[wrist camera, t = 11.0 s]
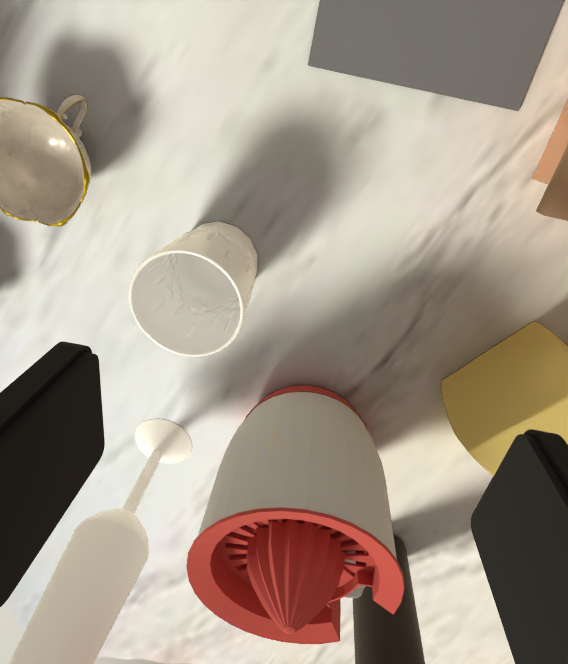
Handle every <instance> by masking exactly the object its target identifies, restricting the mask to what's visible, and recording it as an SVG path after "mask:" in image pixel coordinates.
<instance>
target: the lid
mask: <svg viewBox="0 0 568 664" xmlns="http://www.w3.org/2000/svg"><path fill="white" fill-rule="evenodd" d="M536 212H538V213H540V214H542V215H544V216H549V217H554V218H558V219H563V220H567V221H568V145H567V147H566V149H565V151H564V153H563V155H562V158H561V160H560V162H559V164H558V166H557V168H556V170H555V172H554V174H553V176H552V179H551V181H550V183H549V185H548V187H547V189H546V191H545V193H544V195H543V197H542V199H541V202H540V204H539V206H538V208H537V210H536Z"/></svg>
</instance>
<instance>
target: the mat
mask: <svg viewBox="0 0 568 664" xmlns="http://www.w3.org/2000/svg"><path fill="white" fill-rule="evenodd" d="M563 1H564V0H320V2H319V8H318V13H317V19H316V24H315V29H314V35H313V40H312V46H311V51H310V57H309V62H308V66H312V67H317V68H321V69H326V70H331V71H335V72H340V73H345V74H349V75H354V76H358V77H363V78H368V79H372V80H377V81H382V82H386V83H391V84H395V85H400V86H405V87H409V88H414V89H419V90H423V91H428V92H432V93H437V94H442V95H446V96H451V97H455V98H460V99H465V100H469V101H474V102H479V103H483V104H488V105H492V106H497V107H502V108H506V109H511V110H516V111H519V109H520V106H521V104H522V101H523V99H524V96H525V94H526V91H527V89H528V87H529V84H530V82H531V79H532V77H533V74H534V72H535V69H536V67H537V65H538V62H539V60H540V57H541V55H542V52H543V50H544V47H545V45H546V42H547V40H548V38H549V35H550V33H551V30H552V28H553V25H554V23H555V20H556V18H557V15H558V13H559V11H560V8H561V6H562V3H563Z"/></svg>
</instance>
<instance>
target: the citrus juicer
mask: <svg viewBox="0 0 568 664" xmlns="http://www.w3.org/2000/svg"><path fill="white" fill-rule="evenodd" d="M187 572H188V578H189V582H190V584H191V586H192V588H193V590H194V592H195V594H196V595H197V596H198V598H199V599H200V600H201V601H202V603H203V604H204V605H205V606H206V607H207V608H208V609H210V610H211V611H212V612H213V613H214V614H215V615H217V616H218V617H220V618H221V619H223V620H224V621H226V622H228V623H229V624H231V625H233V626H235V627H237V628H239V629H242V630H244V631H246V632H249V633H251V634H254V635H257V636H260V637H263V638H268V639H272V640H277V641H281V642H289V643H298V644H324V643H331V642H338V641H340V598H343V597H349V598H358V597H360V596H361V595H362V592H363V589H364V588H365V587H366V586H369V587H372V591H373V600H374V601H375V602H376V603H378V604H379V605H381V606H382V607H383V608H385V609H386V610H388V611H389V612H390V613H392V614H394V613H395V611H396V610H397V608H398V607H399V605H400V604H401V601H402V596H403V592H404V588H405V586H404V577H403V572H402V570H401V567H400V565H399V563H398V561H397V558H396V550H395V543H394V536H393V529H392V522H391V515H390V508H389V501H388V494H387V487H386V480H385V476H384V471H383V467H382V462H381V460H380V457H379V455H378V452H377V449H376V447H375V444H374V442H373V439H372V437H371V435H370V433H369V432H368V429H367V427H366V424H365V423H364V421H363V420H362V419H361V417H360V416H359V414H358V413H357V412H356V410H355V409H354V408H353V407H352V406H351V405H350V404H349V403H348V402H347V401H346V400H345V399H344V398H342V397H340V396H339V395H337V394H336V393H334V392H331V391H329V390H326V389H324V388H319V387H315V386H304V385H300V386H290V387H287V388H283V389H280V390H277V391H275V392H273V393H271V394H270V395H268V396H267V397H266V398H265V399H263V400H262V401H261V402H259V403H258V404H257V405H256V406H255V407H254V408H253V409H252V410H251V411H250V413H249V414H248V415H247V416H246V418H245V420H244V422H243V423H242V424H241V425H240V426H239V428H238V429H237V431H236V433H235V434H234V436H233V438H232V440H231V441H230V444H229V446H228V448H227V450H226V452H225V454H224V457H223V460H222V462H221V465H220V467H219V470H218V473H217V477H216V480H215V483H214V486H213V489H212V493H211V496H210V499H209V502H208V505H207V509H206V512H205V515H204V518H203V521H202V524H201V528H200V531H199V534H198V537H197V538H196V539H195V540H194V542H193V544H192V546H191V548H190V550H189V552H188V559H187Z"/></svg>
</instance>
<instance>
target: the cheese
mask: <svg viewBox="0 0 568 664" xmlns="http://www.w3.org/2000/svg"><path fill="white" fill-rule="evenodd" d="M441 389H442V398H443V403H444V407H445V410H446V413H447V416H448V419H449V421H450V424H451V426H452V429H453V431H454V433H455V435H456V436H457V438H458V439H459V441H460V442H461V443H462V444H463V446H464V447H465V448H466V450H467V451H468V452H469V453H470V454H471V456H472V457H473V458H474V459H475V460H476V461H477V462H478V463H479V464H480V465H482V466H483V467H484V468H485V469H486V470H487V471H488V472H489V473H491V474H492V475H493V476H494V475H495V473H496V471H497V469H498V467H499V466H500V464H501V462H502V460H503V458H504V457H505V455H506V453H507V451H508V450H509V448H510V446H511V444H512V442H513V441H514V439H515V437H516V436H517V435H519V434H524V432H525V431H527V430H530V429H533V430H539V431H544V432H549V433H555V434H558V435H560V436H561V437H562V438H563V439H564V440H565V442H566V443H567V444H568V346H567V345H566V344H565V343H563V342H562V341H561V340H560V339H559V338H558V337H557V336H556V335H554V334H553V333H552V332H551V331H549V330H548V329H546V328H545V327H543V326H542V325H540V324H539V323H537V322H532V323H530V324H529V325H527V326H526V327H524V328H523V329H521V330H519V331H518V332H516V333H515V334H513V335H511V336H510V337H508V338H507V339H505V340H503V341H502V342H500V343H499V344H497V345H496V346H494V347H492V348H491V349H489V350H488V351H486V352H485V353H483V354H482V355H480V356H479V357H477V358H476V359H474V360H473V361H471V362H470V363H468V364H467V365H466V366H464V367H463V368H461V369H459V370H458V371H456V372H455V373H453V374H451V375H450V376H448V377H447V378H445V379H443V380H442V381H441Z"/></svg>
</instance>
